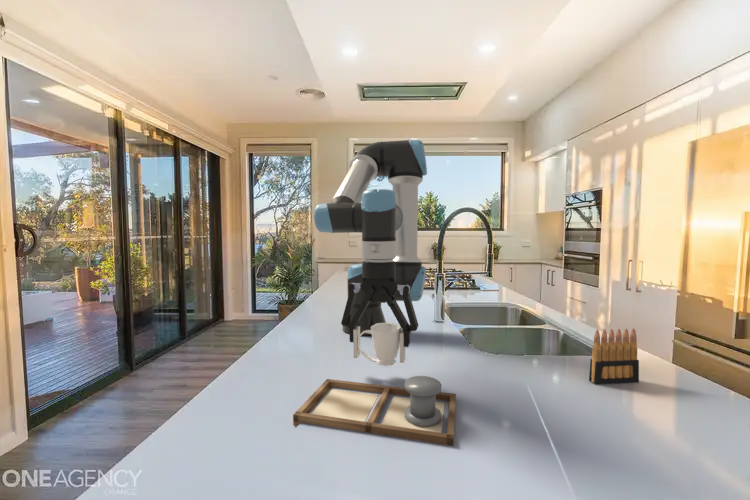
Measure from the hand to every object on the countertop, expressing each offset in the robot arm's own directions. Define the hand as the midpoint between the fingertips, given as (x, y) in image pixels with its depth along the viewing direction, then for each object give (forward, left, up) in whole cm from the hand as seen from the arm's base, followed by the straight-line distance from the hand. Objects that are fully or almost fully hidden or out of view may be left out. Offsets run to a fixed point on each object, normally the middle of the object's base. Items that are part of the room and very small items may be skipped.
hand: (379, 358), depth 77 cm
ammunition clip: (-12, +51, -5) cm, 53 cm away
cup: (0, 0, -1) cm, 1 cm away
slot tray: (+14, +4, -5) cm, 15 cm away
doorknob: (+15, +12, -4) cm, 19 cm away
